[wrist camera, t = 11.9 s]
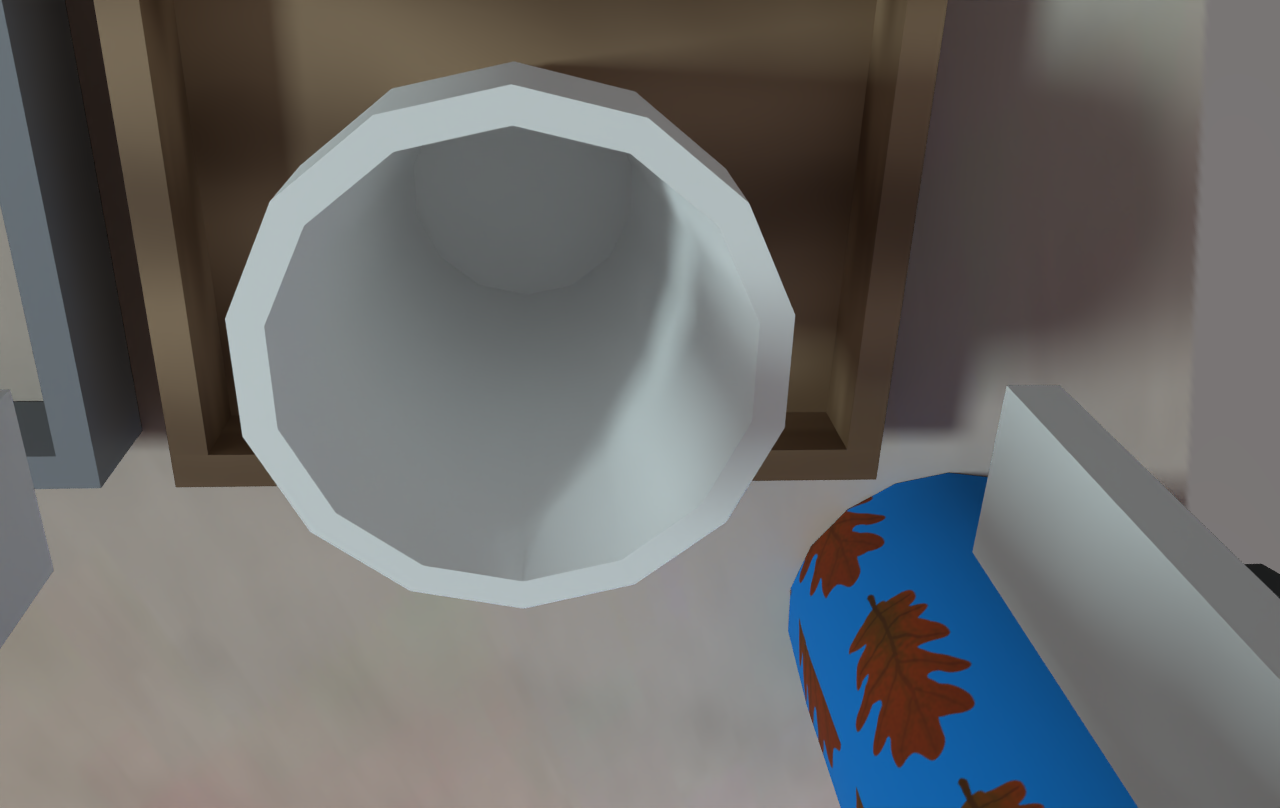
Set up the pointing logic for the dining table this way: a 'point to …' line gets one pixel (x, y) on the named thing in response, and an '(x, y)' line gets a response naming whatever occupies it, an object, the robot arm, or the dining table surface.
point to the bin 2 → (565, 43)
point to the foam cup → (511, 338)
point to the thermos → (932, 667)
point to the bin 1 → (60, 257)
